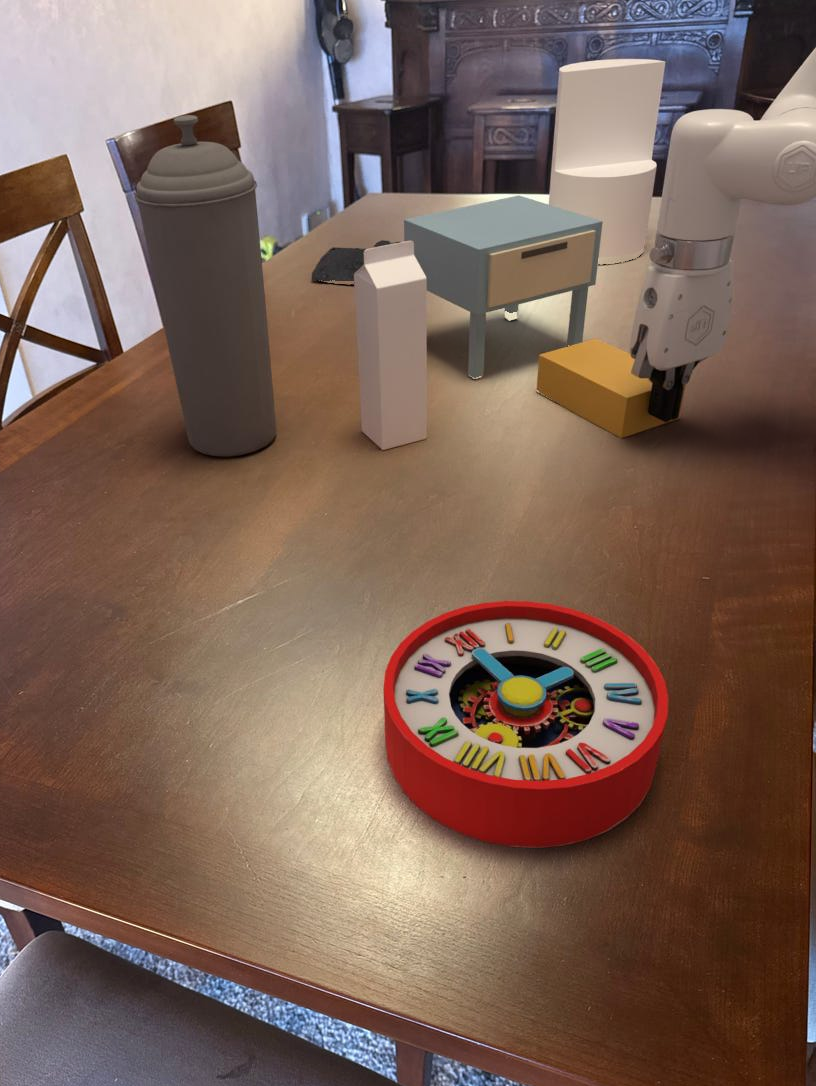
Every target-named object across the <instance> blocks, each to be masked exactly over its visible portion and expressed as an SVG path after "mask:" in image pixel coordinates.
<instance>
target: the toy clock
mask: <svg viewBox="0 0 816 1086" xmlns="http://www.w3.org/2000/svg"><path fill="white" fill-rule="evenodd" d="M382 688H383V712H384V713H383V715H384V739H385V740H384V741H385V743H384V744H385V750H386V759H387V763H388V765H389V768H390V770H391V773H392V776H393V778H394V780H395V781H396V783H397V784H398V785H399V787H400V789H401V790H402V792H403V793H404V795H406V797H407V798H409V799H410V801H411V802H412V803H413V804H414V805H415V806H416V807H417V808H418V809H419V810H421V812H423V813H425V814H426V815H428V817H430V818H432V819H433V820H434V821H436V822H437V823H439V824H441V825H443V826H445V827H447V828H449V829H450V830H453V831H455V832H457V833H458V834H461V835H463V836H466V837H470V838H473V839H476V840H478V841H481V842H484V843H490V844H494V845H501V846H505V847H513V848H529V849H531V848H532V849H538V848H539V849H541V848H551V847H562V846H563V847H564V846H566V845H571V844H575V843H580V842H583V841H587V840H589V839H591V838H594V837H596V836H599V835H601V834H603V833H606V832H609V831H610V830H611V829H613V828H614V827H616V826H617V825H619V824H620V823H622V822H623V821H625V820H626V819H628V817H630V815H631V814H633V813H634V811H635V810H636V809H638V807H639V806H640V805H641V804H642V802H643V801H644V799H645V797H647V796H646V795H648V792H649V791H650V788H651V786H652V783H653V779H654V777H655V772H656V768H657V763H658V759H659V755H660V751H661V746H662V742H663V737H664V733H665V728H666V725H667V720H668V716H669V694H668V689H667V684H666V681H665V679H664V676H663V675H662V672H661V671H660V668H659V667H658V665H657V663H656V662H655V661H654V659H653V658H652V657H651V656H650V655H649V654H648V652H647V651H646V649H644V648H643V646H641V645H640V644H639V643H638V642H636V641H635V640H634V639H633V638H632V637H631V636H629V635H628V634H626V633H625V632H623V631H621V630H620V629H618V628H617V627H616V626H614V625H612V624H610V623H608V622H606V621H604V620H602V619H600V618H598V617H595V616H593V615H591V614H588V613H585V612H583V611H580V610H577V609H573V608H570V607H565V606H561V605H556V604H553V603H543V602H538V601H528V600H502V601H490V602H482V603H475V604H472V605H466V606H462V607H459V608H456V609H453V610H450V611H447V612H444V613H442V614H440V615H438V616H435V617H433V618H432V619H429V620H427V621H426V622H424V623H422V624H421V625H419V627H417V628H415V629H414V630H412V631H411V632H410V633H409V634H408V635H407V636H406V637H405V638H404V639H403V640H401V642H400V643H399V644H398V645H397V647H396V649H395V650H394V651H393V653H392V655H391V656H390V658H389V661H388V664H387V666H386V669H385V672H384V680H383V687H382Z"/></svg>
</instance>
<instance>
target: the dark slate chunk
mask: <svg viewBox="0 0 816 1086" xmlns="http://www.w3.org/2000/svg"><path fill="white" fill-rule="evenodd" d="M401 242H402V241H395V242H392V241H391V242H390V240H385V239H384V240H383V239H382V240H379V241H377V242H376V243H375V244H374V245H373V248H375V247H380V246H385V245H390V244H396V243H401ZM366 249H367V248H359V247H335V246H334V247H331V248H329V249H328V250H327V251H326V252H325V253H324V254H323V255H322V256H321V258H320V259H319V261H318V262H317V264H316V265H315V267H314V269H313V270H312V272H311V280H312V281H314V280H320V281H321V280H322V281H330V280H331V281H332V280H335V281H354V273H356V272H357V271H358V270H359V269H360V268H361V267H362V266H363V265H364V251H365V250H366Z"/></svg>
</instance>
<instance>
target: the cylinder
mask: <svg viewBox="0 0 816 1086" xmlns="http://www.w3.org/2000/svg"><path fill="white" fill-rule="evenodd" d="M665 69H666V61H665V60H659V59H647V58H614V59H613V58H612V59H611V58H610V59H599V60H589V61H581V62H575V63H569V64H565V65H563V66H561V67H559V69H558V70H559V71H558V81H557V82H558V83H557V94H556V105H555V107H556V108H555V118H554V119H555V120H554V131H553V144H552V157H551V169H550V180H549V182H550V183H549V194H548V195H549V196H548V205H552V206H555V207H558V208H561V209H565V210H568V211H571V212H574V213H578V214H581V215H584V216H587V217H591V218H594V219H597V220H600V221H603V223H602V232H601V241H600V249H599V257H610V256H611V257H612V256H613V257H614V256H623V255H629V254H633V253H637V252H638V251H640V250H642V249H643V247H644V246H645V247H646V242H647V241H646V240H647V236H648V235H647V234H648V229H649V223H650V222H649V221H650V214H651V206H652V200H653V193H654V187H655V181H656V173H657V167H658V166H657V162H656V161H654V160H653V152H654V146H655V145H654V144H655V140H656V139H655V138H656V132H657V126H658V125H657V124H658V118H659V110H660V104H661V103H660V102H661V96H662V89H663V82H664V75H665Z"/></svg>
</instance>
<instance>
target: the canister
mask: <svg viewBox="0 0 816 1086" xmlns="http://www.w3.org/2000/svg"><path fill="white" fill-rule="evenodd" d="M198 122H199V119H198V116H196V115H192V114H187V115H186V114H185V115H180V116H179V115H178V116H177V117H175V118H173V124H174V125H175V126H177V127H179V129H180V130H181V132H182V133H181V135H182V136H181V140H180V143H176V144H171V145H168V146H166V147H163V148H161V149H159V150H158V151H156V152H155V153H154V154H153V156H152V157H151V159H150V161H149V162H148V165H147V169H146V170H145V171H144V172H143V173H142V175H141V178H140V180H139V182H138V183H137V184H136V192H135V195H134V198H135V201H136V202H137V206H138V210H139V211H138V212H139V215H140V219H141V224H142V230H143V232H144V233H143V234H144V238H145V243H146V248H147V253H148V258H149V262H150V263H149V264H150V267H151V272H152V277H153V281H154V287H155V291H156V295H157V296H156V297H157V300H158V304H159V305H158V306H159V310H160V315H161V319H162V323H163V324H162V325H163V328H164V333H165V338H166V343H167V347H168V352H169V356H170V360H171V365H172V370H173V375H174V379H175V384H176V388H177V389H176V390H177V394H178V398H179V402H180V407H181V411H182V416H183V421H184V425H185V431H186V434H187V439H188V442H189V444H190V445H191V447H192V448H193V449H194V450H195V451H198V452H199V453H201V454H203V455H207V456H211V457H222V458H223V457H225V458H226V457H228V458H230V457H237V456H244V455H246V454H251V453H254V452H256V451H259V450H261V449H263V448H265V447H267V445H269V444H270V443H271V442H273V440H274V439H275V436H276V434H277V422H276V408H275V400H274V399H275V398H274V387H273V375H272V361H271V351H270V338H269V337H270V336H269V325H268V315H267V305H266V302H267V301H266V294H265V281H264V280H265V279H264V270H263V261H262V260H263V259H262V250H261V249H262V247H261V238H260V227H259V226H260V225H259V217H258V216H259V215H258V214H259V213H258V206H257V205H258V204H257V193H256V189H257V187H258V182H257V181H256V180H255V178H254V174H253V173H252V171H251V170H249V169H248V168H247V167H246V165H245V164H244V163H243V162H241V161H240V160H238V158H237V156H236V155H235V153H233V151H231V150H230V149H229V148H228V147H227V146H226V145H224V144H222V143H218V142H213V141H198V139H197V138H196V137H195V135H194V131H193V129H194V126H195V125H196V124H197V123H198Z"/></svg>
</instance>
